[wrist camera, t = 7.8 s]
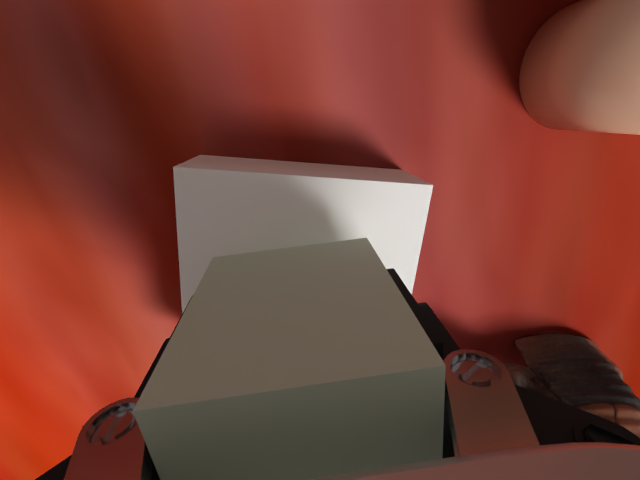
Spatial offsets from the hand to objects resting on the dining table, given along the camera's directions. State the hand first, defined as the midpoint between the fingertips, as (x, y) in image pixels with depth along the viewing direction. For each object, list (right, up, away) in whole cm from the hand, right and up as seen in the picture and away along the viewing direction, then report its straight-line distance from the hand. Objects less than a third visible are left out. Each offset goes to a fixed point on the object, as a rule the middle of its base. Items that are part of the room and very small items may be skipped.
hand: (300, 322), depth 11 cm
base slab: (0, +2, +6) cm, 6 cm away
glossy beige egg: (+12, +10, +4) cm, 16 cm away
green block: (0, 0, +1) cm, 1 cm away
